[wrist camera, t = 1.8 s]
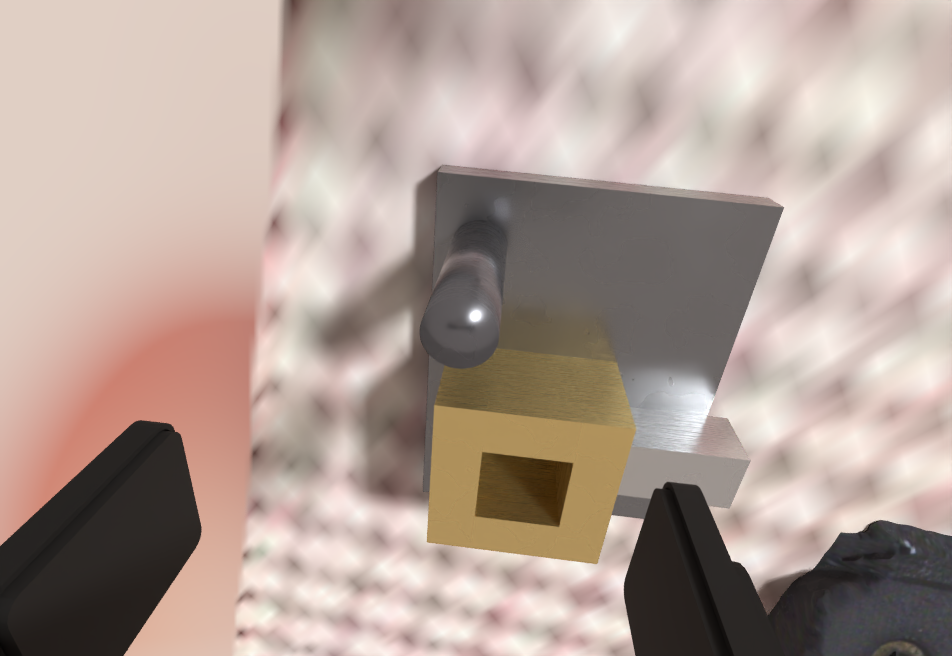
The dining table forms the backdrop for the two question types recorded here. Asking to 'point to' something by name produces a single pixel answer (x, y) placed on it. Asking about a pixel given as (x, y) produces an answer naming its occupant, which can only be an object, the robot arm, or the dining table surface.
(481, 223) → the grey metal peg
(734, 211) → the square hole fixture
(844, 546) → the dark slate chunk
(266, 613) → the dining table surface
